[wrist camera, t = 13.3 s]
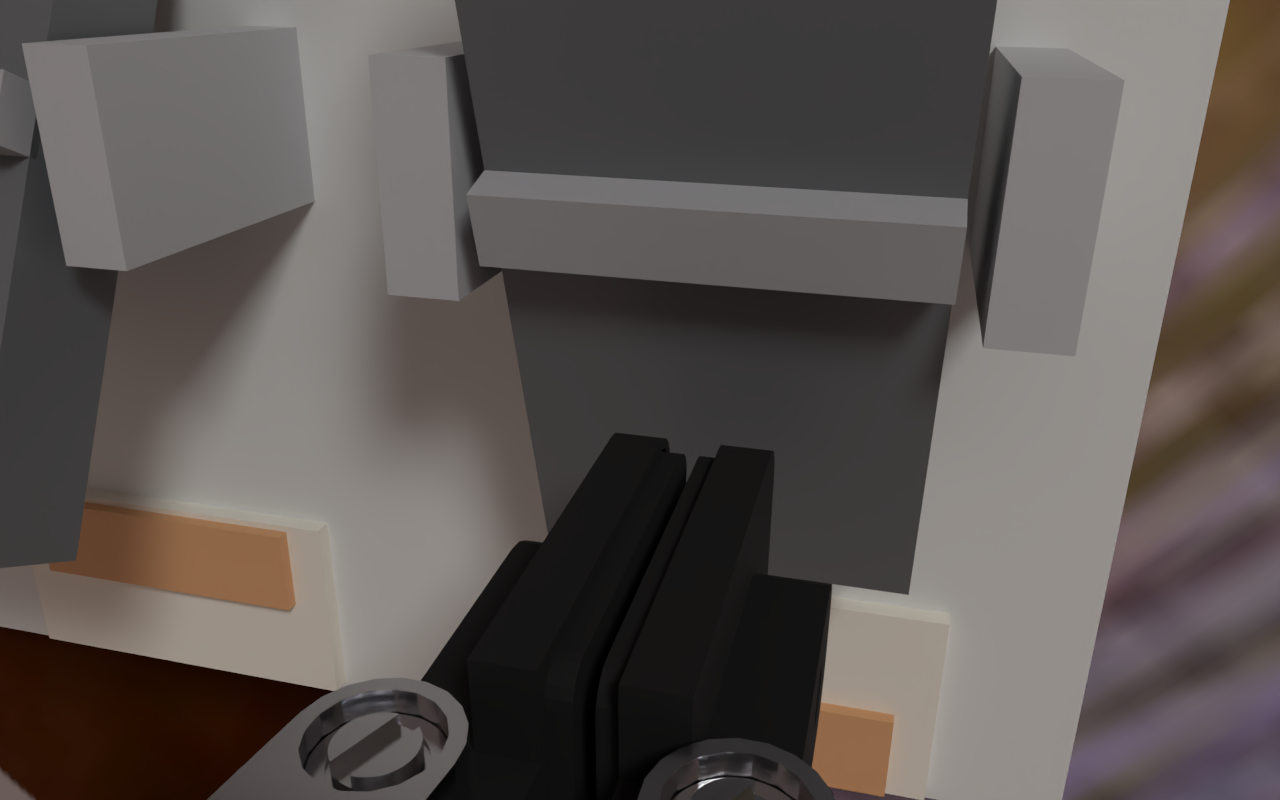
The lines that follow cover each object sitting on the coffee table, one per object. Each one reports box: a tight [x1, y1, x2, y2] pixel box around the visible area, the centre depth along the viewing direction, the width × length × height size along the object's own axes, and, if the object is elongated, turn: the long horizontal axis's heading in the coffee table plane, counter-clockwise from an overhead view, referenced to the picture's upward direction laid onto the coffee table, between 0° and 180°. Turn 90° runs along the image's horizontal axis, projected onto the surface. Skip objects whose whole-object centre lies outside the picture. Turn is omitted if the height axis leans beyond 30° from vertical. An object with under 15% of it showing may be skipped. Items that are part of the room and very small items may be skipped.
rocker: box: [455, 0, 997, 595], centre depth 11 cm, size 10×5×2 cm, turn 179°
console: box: [0, 0, 1230, 800], centre depth 16 cm, size 20×30×8 cm, turn 89°
